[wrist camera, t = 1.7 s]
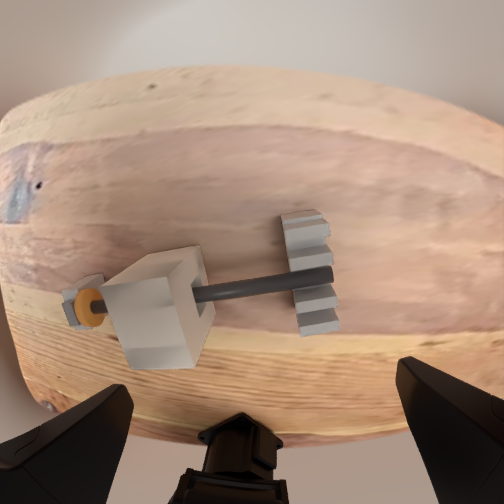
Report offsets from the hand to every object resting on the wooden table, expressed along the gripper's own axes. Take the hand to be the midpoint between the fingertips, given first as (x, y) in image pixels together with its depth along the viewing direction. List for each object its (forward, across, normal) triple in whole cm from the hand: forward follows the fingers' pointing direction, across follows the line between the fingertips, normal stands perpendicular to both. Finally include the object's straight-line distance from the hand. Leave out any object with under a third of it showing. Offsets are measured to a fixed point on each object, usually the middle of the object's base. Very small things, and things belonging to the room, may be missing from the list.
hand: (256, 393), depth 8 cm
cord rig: (+13, +5, 0) cm, 14 cm away
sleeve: (+13, +6, 0) cm, 14 cm away
